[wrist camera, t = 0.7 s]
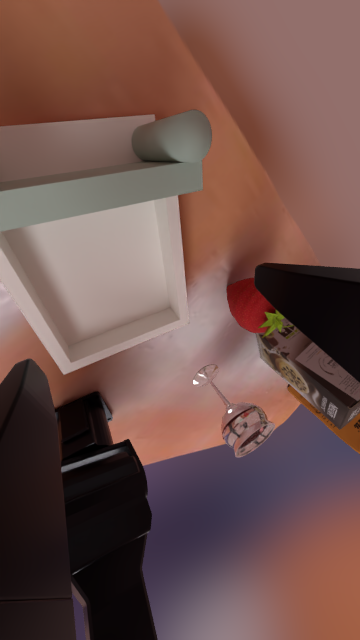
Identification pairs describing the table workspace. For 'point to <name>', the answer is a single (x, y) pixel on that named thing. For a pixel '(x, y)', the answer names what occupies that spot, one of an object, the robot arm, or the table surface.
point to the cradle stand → (98, 228)
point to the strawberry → (252, 308)
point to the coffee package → (354, 433)
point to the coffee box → (311, 373)
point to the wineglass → (238, 418)
